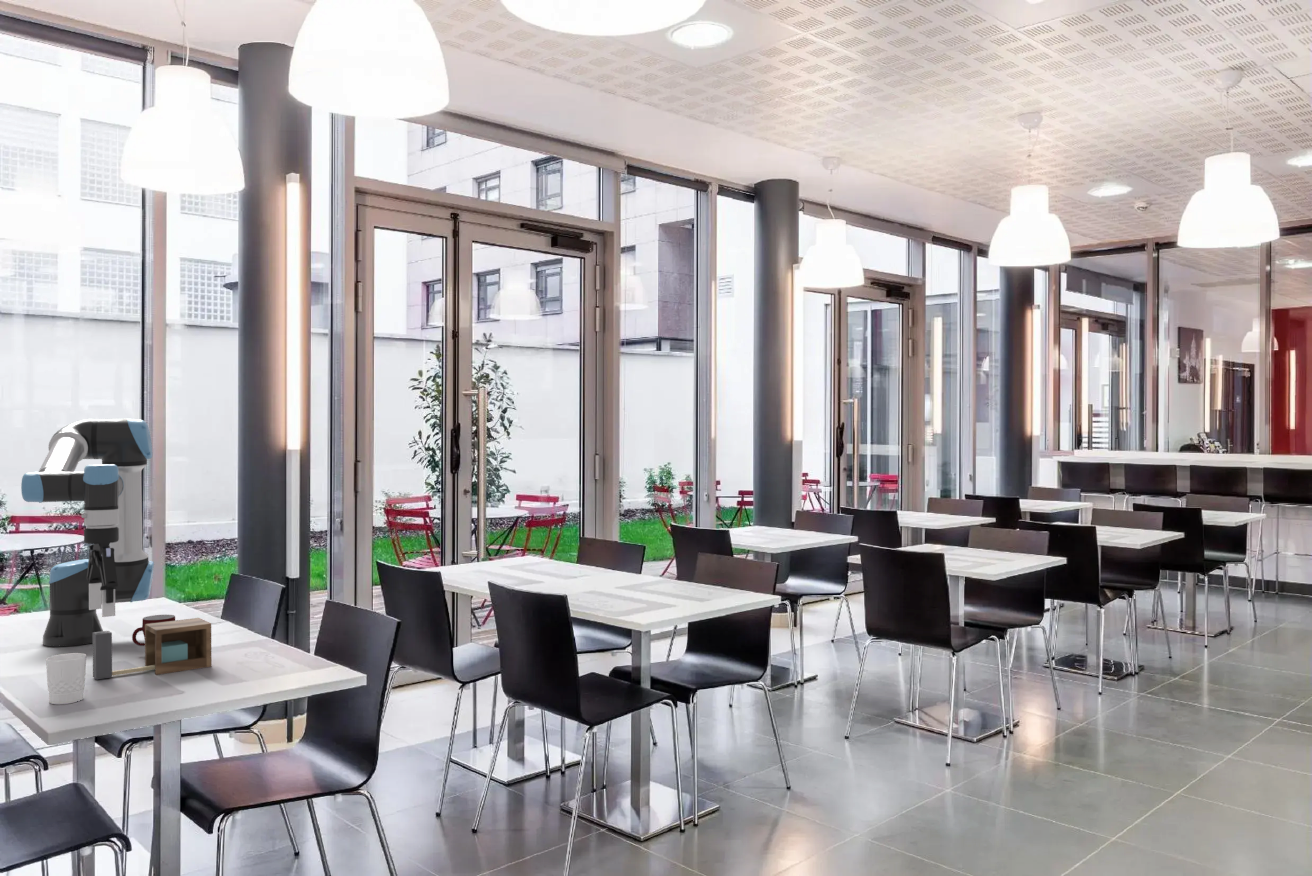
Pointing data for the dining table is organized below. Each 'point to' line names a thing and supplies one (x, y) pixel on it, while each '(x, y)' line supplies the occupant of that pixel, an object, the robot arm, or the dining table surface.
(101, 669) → the double-ended block stick
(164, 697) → the dining table surface
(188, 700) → the dining table surface
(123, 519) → the robot arm
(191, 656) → the shelf
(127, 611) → the dining table surface
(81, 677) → the white cup
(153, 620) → the mug
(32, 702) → the dining table surface
